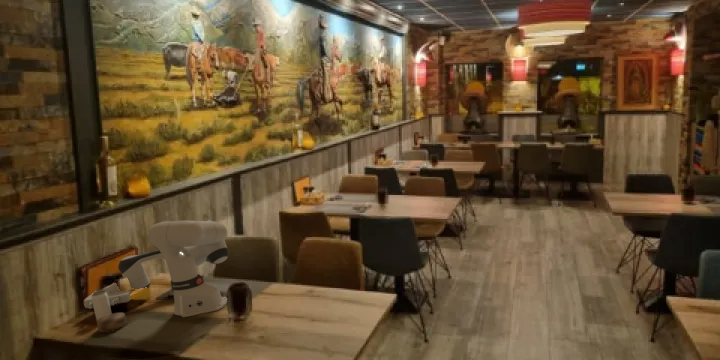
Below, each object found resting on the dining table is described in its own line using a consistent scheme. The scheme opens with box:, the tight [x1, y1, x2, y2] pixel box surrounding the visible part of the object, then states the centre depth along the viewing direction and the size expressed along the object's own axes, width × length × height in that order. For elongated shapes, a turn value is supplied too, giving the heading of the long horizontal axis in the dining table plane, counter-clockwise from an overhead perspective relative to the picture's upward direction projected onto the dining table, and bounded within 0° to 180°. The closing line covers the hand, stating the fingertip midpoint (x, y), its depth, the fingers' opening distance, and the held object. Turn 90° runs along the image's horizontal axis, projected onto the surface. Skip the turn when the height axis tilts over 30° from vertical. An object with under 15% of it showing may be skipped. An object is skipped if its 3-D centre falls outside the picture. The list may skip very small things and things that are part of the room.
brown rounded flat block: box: [96, 312, 127, 333], centre depth 239 cm, size 11×11×4 cm
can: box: [92, 291, 113, 321], centre depth 250 cm, size 6×6×12 cm
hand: (100, 305), depth 249 cm, fingers open, 8 cm apart
